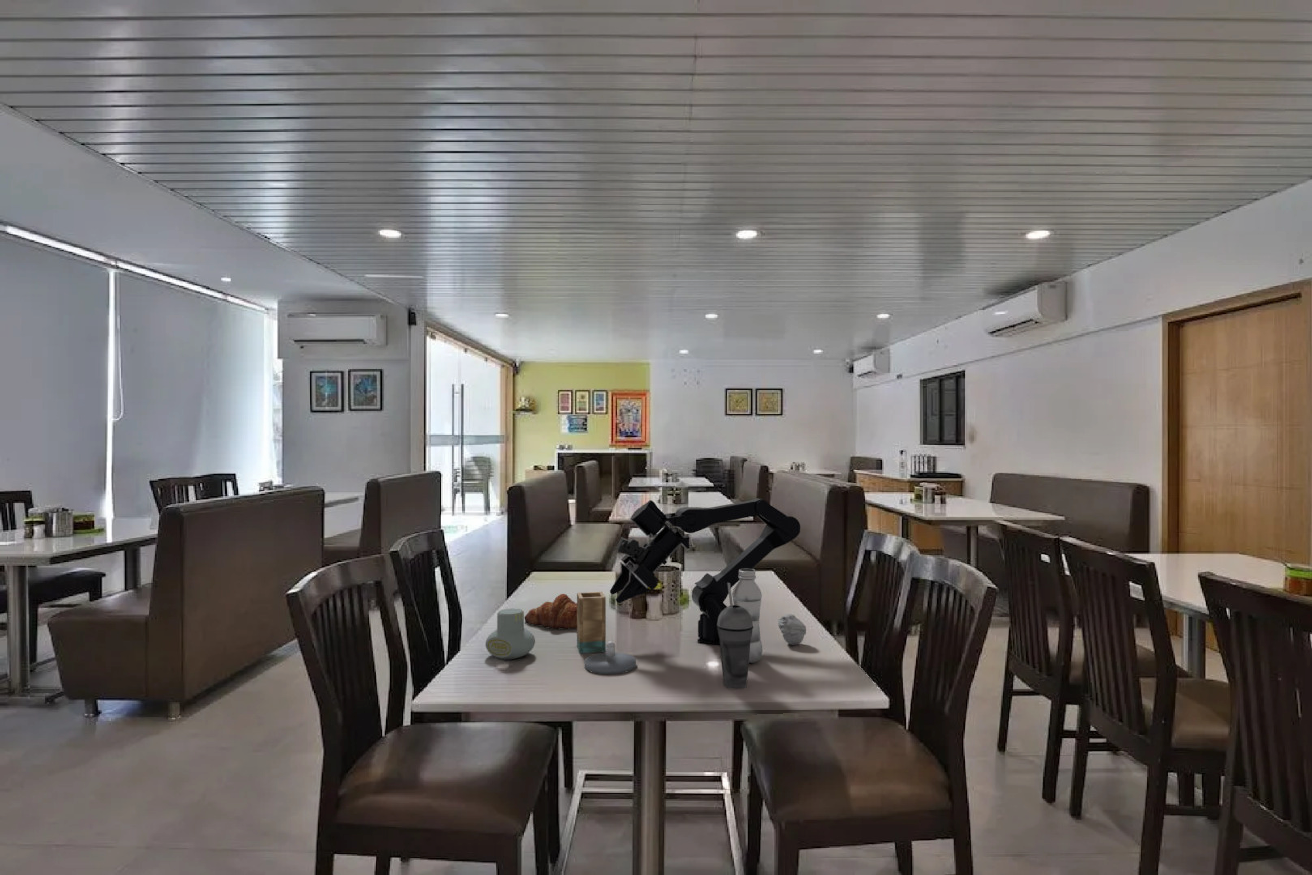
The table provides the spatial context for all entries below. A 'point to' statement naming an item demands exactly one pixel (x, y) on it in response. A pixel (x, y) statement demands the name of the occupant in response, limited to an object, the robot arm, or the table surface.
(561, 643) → the table surface
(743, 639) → the beverage cup
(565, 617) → the pastry
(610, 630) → the table surface
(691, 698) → the table surface
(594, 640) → the banded sleeve
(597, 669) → the pin stand
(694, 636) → the table surface
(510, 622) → the air freshener
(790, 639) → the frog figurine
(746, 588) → the plastic bottle
